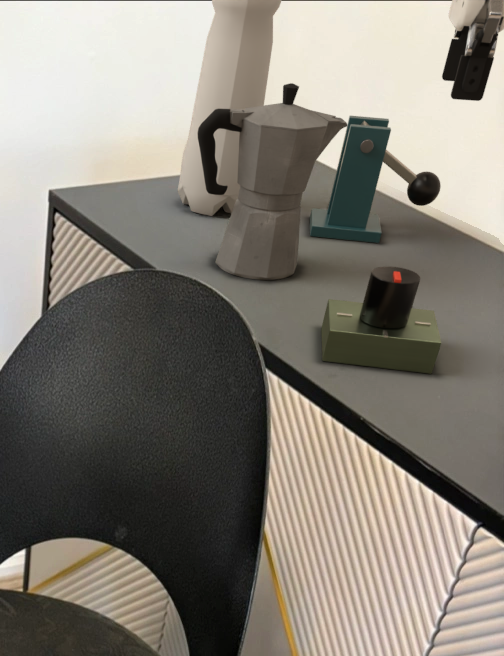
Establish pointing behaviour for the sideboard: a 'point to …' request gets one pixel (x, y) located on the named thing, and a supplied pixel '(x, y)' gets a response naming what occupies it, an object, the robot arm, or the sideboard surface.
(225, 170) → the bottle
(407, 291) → the knob
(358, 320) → the panel
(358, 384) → the sideboard surface
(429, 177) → the ball knob lever
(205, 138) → the coffeepot
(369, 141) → the teal lever mount
